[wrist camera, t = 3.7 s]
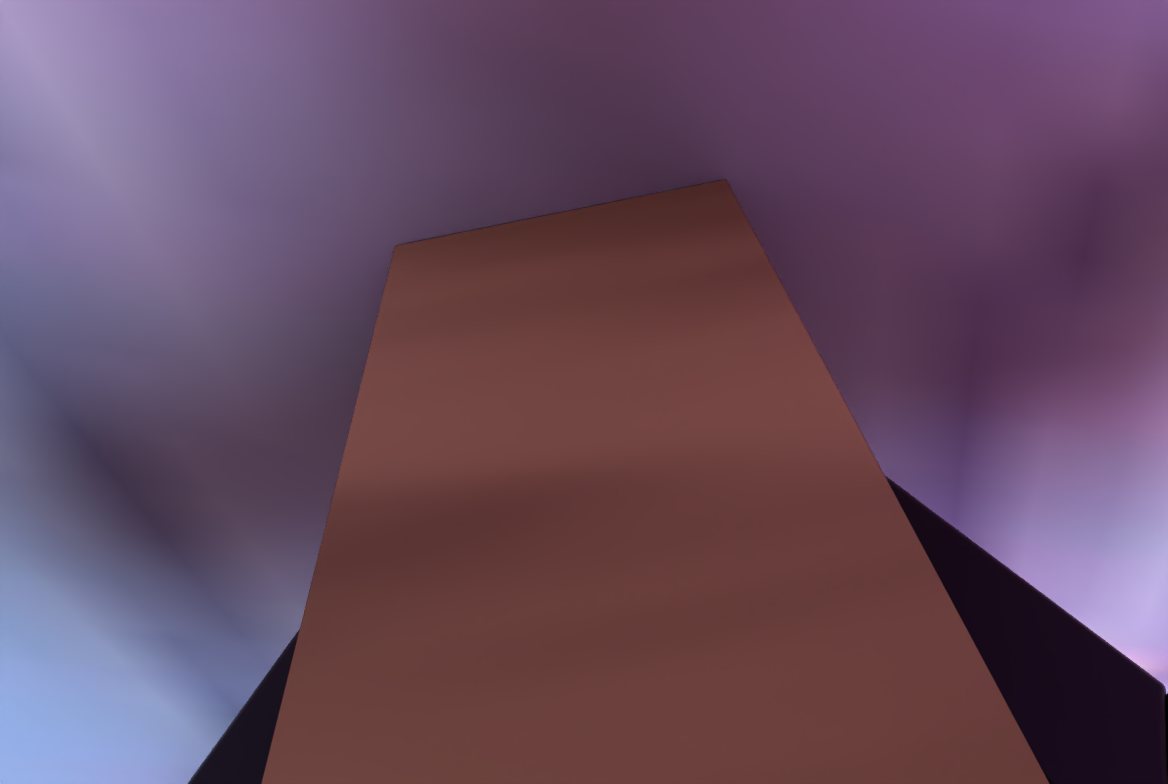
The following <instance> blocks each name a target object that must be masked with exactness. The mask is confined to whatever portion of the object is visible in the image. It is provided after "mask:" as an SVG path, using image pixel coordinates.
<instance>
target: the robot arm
mask: <svg viewBox="0 0 1168 784" xmlns="http://www.w3.org/2000/svg"><path fill="white" fill-rule="evenodd" d="M884 476H885V475H884ZM885 478H886V479H887V481H888V483H889V485H890V487H891V489H892V491H893V492H894V494H895V496H896V498H897V500H898V502H899V504H900V506H901V507H902V509H903V511H904V513H905V515H906V517H907V519H908V520H909V522H910V524H911V526H912V528H913V530H914V532H915V534H916V535H917V537H918V539H919V541H920V543H921V545H922V547H923V549H924V550H925V552H926V554H927V556H928V558H929V560H930V562H931V563H932V565H933V567H934V569H935V571H936V573H937V575H938V577H939V578H940V580H941V582H942V584H943V586H944V588H945V590H946V592H947V593H948V595H949V597H950V599H951V601H952V603H953V605H954V606H955V608H956V610H957V612H958V614H959V616H960V618H961V620H962V621H963V623H964V625H965V627H966V629H967V631H968V633H969V634H970V636H971V638H972V640H973V642H974V644H975V646H976V648H977V649H978V651H979V653H980V655H981V657H982V659H983V661H984V663H985V664H986V666H987V668H988V670H989V672H990V674H991V676H992V677H993V679H994V681H995V683H996V685H997V687H998V689H999V691H1000V692H1001V694H1002V696H1003V698H1004V700H1005V702H1006V704H1007V706H1008V707H1009V709H1010V711H1011V713H1012V715H1013V717H1014V719H1015V720H1016V722H1017V724H1018V726H1019V728H1020V730H1021V732H1022V734H1023V735H1024V737H1025V739H1026V741H1027V743H1028V745H1029V747H1030V748H1031V750H1032V752H1033V754H1034V756H1035V758H1036V760H1037V762H1038V763H1039V765H1040V767H1041V769H1042V771H1043V773H1044V775H1045V777H1046V778H1047V780H1048V782H1049V784H1168V693H1167V694H1166V689H1165V686H1164V685H1163V684H1162V683H1161V682H1160V681H1158V680H1157V679H1156V678H1154V677H1153V676H1152V675H1150V674H1149V673H1148V672H1146V671H1145V670H1144V669H1142V668H1141V667H1140V666H1138V665H1137V664H1136V663H1134V662H1133V661H1132V660H1130V659H1129V658H1128V657H1126V656H1125V655H1124V654H1122V653H1121V652H1120V651H1118V650H1117V649H1116V648H1114V647H1113V646H1112V645H1110V644H1109V643H1108V642H1106V641H1105V640H1104V639H1102V638H1101V637H1100V636H1098V635H1097V634H1096V633H1094V632H1093V631H1092V630H1090V629H1089V628H1088V627H1086V626H1085V625H1084V624H1082V623H1081V622H1080V621H1078V620H1077V619H1076V618H1074V617H1073V616H1072V615H1070V614H1069V613H1068V612H1066V611H1065V610H1064V609H1062V608H1061V607H1060V606H1058V605H1057V604H1056V603H1054V602H1053V601H1052V600H1050V599H1049V598H1048V597H1046V596H1045V595H1044V594H1042V593H1041V592H1040V591H1038V590H1037V589H1036V588H1034V587H1033V586H1032V585H1030V584H1029V583H1028V582H1026V581H1025V580H1024V579H1022V578H1021V577H1020V576H1018V575H1017V574H1016V573H1014V572H1013V571H1012V570H1010V569H1009V568H1008V567H1006V566H1005V565H1004V564H1002V563H1001V562H1000V561H998V560H997V559H996V558H994V557H993V556H992V555H990V554H989V553H988V552H986V551H985V550H984V549H982V548H981V547H980V546H978V545H977V544H976V543H974V542H973V541H972V540H970V539H969V538H968V537H966V536H965V535H964V534H962V533H961V532H960V531H958V530H957V529H956V528H954V527H953V526H952V525H950V524H949V523H948V522H946V521H945V520H944V519H942V518H941V517H940V516H938V515H937V514H936V513H934V512H933V511H932V510H930V509H929V508H928V507H926V506H925V505H924V504H922V503H921V502H920V501H918V500H917V499H916V498H914V497H913V496H912V495H910V494H909V493H908V492H906V491H905V490H904V489H902V488H901V487H900V486H898V485H897V484H896V483H894V482H893V481H892V480H890V479H889V478H888V477H886V476H885ZM299 631H300V629H299ZM299 631H298V632H297V633H296V635H295V636H294V637H293V639H292V640H291V642H290V643H289V644H288V646H287V647H286V648H285V650H284V651H283V653H282V654H281V655H280V657H279V658H278V660H277V661H276V662H275V664H274V665H273V666H272V668H271V669H270V671H269V672H268V673H267V675H266V676H265V677H264V679H263V680H262V682H261V683H260V684H259V686H258V687H257V688H256V690H255V691H254V693H253V694H252V695H251V697H250V698H249V700H248V701H247V702H246V704H245V705H244V706H243V708H242V709H241V711H240V712H239V713H238V715H237V716H236V717H235V719H234V720H233V722H232V723H231V724H230V726H229V727H228V729H227V730H226V731H225V733H224V734H223V735H222V737H221V738H220V740H219V741H218V742H217V744H216V745H215V746H214V748H213V749H212V751H211V752H210V753H209V755H208V756H207V758H206V759H205V760H204V762H203V763H202V764H201V766H200V767H199V769H198V770H197V771H196V773H195V774H194V775H193V777H192V778H191V780H190V781H189V782H188V784H262V780H263V776H264V772H265V768H266V764H267V760H268V756H269V752H270V748H271V744H272V740H273V735H274V731H275V727H276V723H277V719H278V715H279V711H280V707H281V703H282V699H283V695H284V691H285V687H286V683H287V679H288V675H289V671H290V667H291V663H292V659H293V655H294V651H295V647H296V643H297V639H298V635H299Z"/></svg>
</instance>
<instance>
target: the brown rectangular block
mask: <svg viewBox="0 0 1168 784" xmlns="http://www.w3.org/2000/svg"><path fill="white" fill-rule="evenodd" d="M262 784H1049V782H1048V780H1047V778H1046V777H1045V775H1044V773H1043V771H1042V769H1041V767H1040V765H1039V763H1038V762H1037V760H1036V758H1035V756H1034V754H1033V752H1032V750H1031V748H1030V747H1029V745H1028V743H1027V741H1026V739H1025V737H1024V735H1023V734H1022V732H1021V730H1020V728H1019V726H1018V724H1017V722H1016V720H1015V719H1014V717H1013V715H1012V713H1011V711H1010V709H1009V707H1008V706H1007V704H1006V702H1005V700H1004V698H1003V696H1002V694H1001V692H1000V691H999V689H998V687H997V685H996V683H995V681H994V679H993V677H992V676H991V674H990V672H989V670H988V668H987V666H986V664H985V663H984V661H983V659H982V657H981V655H980V653H979V651H978V649H977V648H976V646H975V644H974V642H973V640H972V638H971V636H970V634H969V633H968V631H967V629H966V627H965V625H964V623H963V621H962V620H961V618H960V616H959V614H958V612H957V610H956V608H955V606H954V605H953V603H952V601H951V599H950V597H949V595H948V593H947V592H946V590H945V588H944V586H943V584H942V582H941V580H940V578H939V577H938V575H937V573H936V571H935V569H934V567H933V565H932V563H931V562H930V560H929V558H928V556H927V554H926V552H925V550H924V549H923V547H922V545H921V543H920V541H919V539H918V537H917V535H916V534H915V532H914V530H913V528H912V526H911V524H910V522H909V520H908V519H907V517H906V515H905V513H904V511H903V509H902V507H901V506H900V504H899V502H898V500H897V498H896V496H895V494H894V492H893V491H892V489H891V487H890V485H889V483H888V481H887V479H886V478H885V476H884V474H883V472H882V470H881V468H880V466H879V464H878V463H877V461H876V459H875V457H874V455H873V453H872V451H871V449H870V448H869V446H868V444H867V442H866V440H865V438H864V436H863V435H862V433H861V431H860V429H859V427H858V425H857V423H856V421H855V420H854V418H853V416H852V414H851V412H850V410H849V408H848V406H847V405H846V403H845V401H844V399H843V397H842V395H841V393H840V392H839V390H838V388H837V386H836V384H835V382H834V380H833V378H832V377H831V375H830V373H829V371H828V369H827V367H826V365H825V364H824V362H823V360H822V358H821V356H820V354H819V352H818V350H817V349H816V347H815V345H814V343H813V341H812V339H811V337H810V335H809V334H808V332H807V330H806V328H805V326H804V324H803V322H802V321H801V319H800V317H799V315H798V313H797V311H796V309H795V307H794V306H793V304H792V302H791V300H790V298H789V296H788V294H787V292H786V291H785V289H784V287H783V285H782V283H781V281H780V279H779V278H778V276H777V274H776V272H775V270H774V268H773V266H772V264H771V263H770V261H769V259H768V257H767V255H766V253H765V251H764V250H763V248H762V246H761V244H760V242H759V240H758V238H757V236H756V235H755V233H754V231H753V229H752V227H751V225H750V223H749V221H748V220H747V218H746V216H745V214H744V212H743V210H742V208H741V207H740V205H739V203H738V201H737V199H736V197H735V195H734V193H733V192H732V190H731V188H730V186H729V184H728V182H727V180H726V179H725V180H720V181H715V182H710V183H705V184H700V185H695V186H690V187H685V188H681V189H676V190H671V191H666V192H661V193H656V194H651V195H646V196H641V197H636V198H631V199H626V200H621V201H616V202H611V203H606V204H601V205H596V206H591V207H586V208H581V209H576V210H571V211H566V212H561V213H556V214H551V215H546V216H541V217H536V218H531V219H526V220H521V221H516V222H511V223H507V224H502V225H497V226H492V227H487V228H482V229H477V230H472V231H467V232H462V233H457V234H452V235H447V236H442V237H437V238H432V239H427V240H422V241H417V242H412V243H407V244H402V245H397V246H395V248H394V252H393V256H392V260H391V264H390V268H389V272H388V276H387V280H386V284H385V288H384V292H383V297H382V301H381V305H380V309H379V313H378V317H377V321H376V325H375V329H374V333H373V337H372V341H371V345H370V349H369V353H368V357H367V361H366V365H365V369H364V373H363V377H362V381H361V385H360V389H359V393H358V397H357V401H356V405H355V409H354V413H353V417H352V421H351V425H350V429H349V433H348V437H347V441H346V446H345V450H344V454H343V458H342V462H341V466H340V470H339V474H338V478H337V482H336V486H335V490H334V494H333V498H332V502H331V506H330V510H329V514H328V518H327V522H326V526H325V530H324V534H323V538H322V542H321V546H320V550H319V554H318V558H317V562H316V566H315V570H314V574H313V578H312V582H311V586H310V590H309V595H308V599H307V603H306V607H305V611H304V615H303V619H302V623H301V627H300V631H299V635H298V639H297V643H296V647H295V651H294V655H293V659H292V663H291V667H290V671H289V675H288V679H287V683H286V687H285V691H284V695H283V699H282V703H281V707H280V711H279V715H278V719H277V723H276V727H275V731H274V735H273V740H272V744H271V748H270V752H269V756H268V760H267V764H266V768H265V772H264V776H263V780H262Z"/></svg>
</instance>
